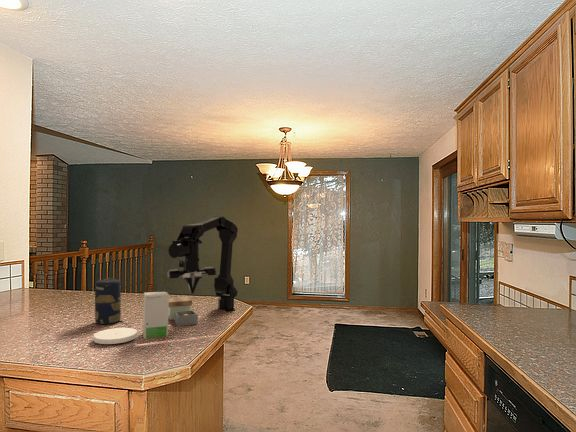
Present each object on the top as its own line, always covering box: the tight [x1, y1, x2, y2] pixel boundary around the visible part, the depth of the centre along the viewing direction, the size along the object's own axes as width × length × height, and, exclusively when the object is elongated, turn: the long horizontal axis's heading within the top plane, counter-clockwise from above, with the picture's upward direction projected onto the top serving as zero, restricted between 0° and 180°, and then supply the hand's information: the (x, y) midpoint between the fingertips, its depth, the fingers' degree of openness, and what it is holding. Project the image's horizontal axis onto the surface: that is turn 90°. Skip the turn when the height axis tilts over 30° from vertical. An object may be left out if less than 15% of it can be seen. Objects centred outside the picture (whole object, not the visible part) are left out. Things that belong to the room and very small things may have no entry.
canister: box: [94, 277, 122, 325], centre depth 162 cm, size 10×10×18 cm
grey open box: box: [174, 309, 199, 327], centre depth 159 cm, size 8×8×4 cm
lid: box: [169, 295, 193, 307], centre depth 169 cm, size 9×9×2 cm
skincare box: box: [142, 291, 170, 340], centre depth 143 cm, size 8×7×16 cm
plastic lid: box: [93, 327, 138, 345], centre depth 139 cm, size 14×14×2 cm
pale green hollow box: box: [168, 305, 191, 321], centre depth 169 cm, size 8×8×6 cm
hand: (192, 293), depth 164 cm, fingers closed
